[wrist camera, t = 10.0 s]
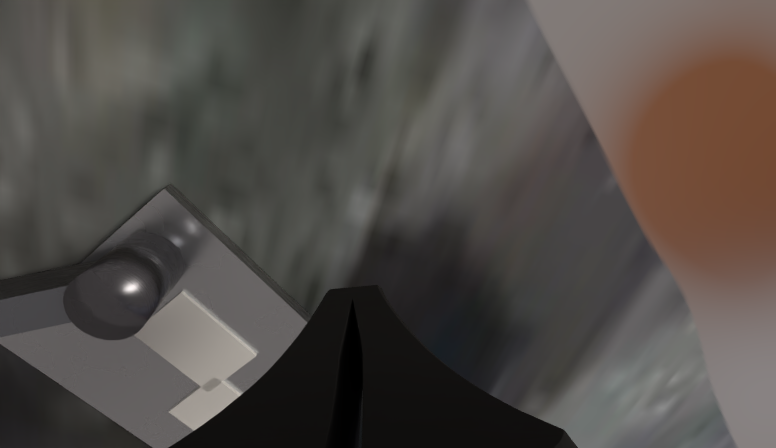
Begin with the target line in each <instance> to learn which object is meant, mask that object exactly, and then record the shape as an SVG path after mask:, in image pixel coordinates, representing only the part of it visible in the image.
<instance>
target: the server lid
mask: <svg viewBox="0 0 776 448" xmlns="http://www.w3.org/2000/svg"><path fill="white" fill-rule="evenodd" d="M141 232H149V233H155V234H159V235H161V236H163V237H165V238H167V239H169V240H170V241H171V242H173V243H174V244H175V245H176V246H177V248H178V249H179V250H180V252H181V254H182V256H183V259H184V272H183V275H182V277H181V279H180V280H179V281H178V283H177V284H176V285H175V287H174V288H173V289H172V290H171V292H170V293H169V294H168V295H167V297H166V298H165V299H164V301H163V302H162V303H161V304H160V306H159V307H158V308H157V310H156V311H155V312H154V313H153V315H154V314H155V313H156V312H157V311H159V310H160V309H161V308H162V307H164V306H165V305H166V304H167V303H168V302H170V301H171V300H172V299H173V298H174V297H176V296H177V295H178V294H179V293H180V292H182V291H184V292H185V293H186V294H187V295H188V296H190V297H191V298H192V299H193V300H194V301H196V302H197V303H198V304H199V305H200V306H201V307H203V308H204V309H205V310H206V311H207V312H208V313H210V314H211V315H212V316H213V317H214V318H215V319H217V320H218V321H219V322H220V323H221V324H223V325H224V326H225V327H226V328H227V329H228V330H230V331H231V332H232V333H233V334H234V335H235V336H237V337H238V338H239V339H240V340H241V341H242V342H244V343H245V344H246V345H247V346H248V347H250V348H251V349H252V350H253V351H254V352H255V353H257V355H256V357H254V358H253V359H252V360H250V361H249V362H248V363H246V364H245V365H244V366H242V367H241V368H240V369H238V370H237V371H236V372H235V373H233V374H232V375H231V376H229V377H228V378H227V379H225V380H224V381H225V382H226V383H228V384H229V385H230V386H231V387H233V388H234V389H235V390H236V391H238V392H239V393H240V394H243V393H244V392H245V391H246V390H248V389H249V388H250V387H251V386H252V385H253V384H254V383H256V382H257V381H258V380H259V379H260V378H261V377H262V376H263V375H264V374H265V373H266V372H267V371H268V370H269V369H270V368H271V367H272V366H273V365H274V364H275V363H276V361H277V360H278V359H279V358H280V357H281V356H282V355H283V353H284V352H285V351H286V350H287V349H288V347H289V346H290V345H291V344H292V343H293V341H294V340H295V339H296V338H297V336H298V335H299V334H300V332H301V331H302V330H303V328H304V327H305V325H306V324H307V323H308V321H309V320H310V319H311V317H312V316H310V315H309V314H308V313H307V312H306V311H305V310H304V309H303V308H302V307H301V306H300V305H299V304H298V303H297V302H296V301H295V300H294V299H292V298H291V297H290V296H289V295H288V294H287V293H286V292H285V291H284V290H283V289H282V288H281V287H280V286H279V285H278V284H277V283H276V282H274V281H273V280H272V279H271V278H270V277H269V276H268V275H267V274H266V273H265V272H264V271H263V270H262V269H261V268H260V267H259V266H258V265H256V264H255V263H254V262H253V261H252V260H251V259H250V258H249V257H248V256H247V255H246V254H245V253H244V252H243V251H242V250H241V249H240V248H238V247H237V246H236V245H235V244H234V243H233V242H232V241H231V240H230V239H229V238H228V237H227V236H226V235H225V234H224V233H223V232H222V231H221V230H219V229H218V228H217V227H216V226H215V225H214V224H213V223H212V222H211V221H210V220H209V219H208V218H207V217H206V216H205V215H204V214H203V213H201V212H200V211H199V210H198V209H197V208H196V207H195V206H194V205H193V204H192V203H191V202H190V201H189V200H188V199H187V198H186V197H185V196H183V195H182V194H181V193H180V192H179V191H178V190H177V189H176V188H175V187H174V186H173V185H172V184H170V185H168V186H167V187H166V188H164V189H163V190H162V191H161V192H160V193H158V194H157V195H156V196H155V197H154V198H153V199H152V200H151V201H149V202H148V203H147V204H146V205H145V206H144V207H143V208H142V209H141V210H139V211H138V212H137V213H136V214H135V215H134V216H133V217H132V218H130V219H129V220H128V221H127V222H126V223H125V224H124V225H123V226H121V227H120V228H119V229H118V230H117V231H116V232H115V233H114V234H113V235H111V236H110V237H109V238H108V239H107V240H106V241H105V242H104V243H102V244H101V245H100V246H99V247H98V248H97V249H96V250H95V251H93V252H92V253H91V254H90V255H89V256H88V257H87V258H86V259H85V260H83V261H82V262H81V263H86V262H91V261H95V260H99V259H100V258H101V257H103V256H104V255H105V254H106V253H108V252H109V251H110V250H112V249H113V248H114V247H115V246H117V245H118V244H119V243H120V242H122V241H123V240H124V239H125V238H127V237H128V236H130V235H133V234H136V233H141ZM81 263H80V264H81ZM153 315H152V316H153ZM0 344H1V345H3V346H4V347H6V348H7V349H8V350H10V351H11V352H13V353H14V354H16V355H17V356H19V357H20V358H22V359H23V360H25V361H26V362H28V363H29V364H31V365H32V366H34V367H35V368H36V369H38V370H39V371H41V372H42V373H44V374H45V375H47V376H48V377H50V378H51V379H53V380H54V381H56V382H57V383H59V384H60V385H61V386H63V387H64V388H66V389H67V390H69V391H70V392H72V393H73V394H75V395H76V396H78V397H79V398H81V399H82V400H84V401H85V402H86V403H88V404H89V405H91V406H92V407H94V408H95V409H97V410H98V411H100V412H101V413H103V414H104V415H106V416H107V417H109V418H110V419H112V420H113V421H114V422H116V423H117V424H119V425H120V426H122V427H123V428H125V429H126V430H128V431H129V432H131V433H132V434H134V435H135V436H137V437H138V438H139V439H141V440H142V441H144V442H145V443H147V444H148V445H150V446H151V447H153V448H168V447H170V446H172V445H173V444H175V443H176V442H178V441H179V440H181V439H182V438H184V437H185V436H187V435H188V434H190V433H191V432H193V431H194V430H192V429H191V428H190V427H188V426H187V425H186V424H184V423H183V422H181V421H180V420H179V419H177V418H176V417H175V416H173V415H172V414H170V413H169V410H170V409H171V408H172V407H173V406H175V405H176V404H177V403H179V402H180V401H181V400H183V399H184V398H185V397H186V396H188V395H189V394H190V393H192V392H193V391H194V390H196V389H197V388H198V387H199V385H198V384H197V383H195V382H194V381H193V380H191V379H190V378H189V377H188V376H186V375H185V374H184V373H182V372H181V371H180V370H179V369H177V368H176V367H175V366H173V365H172V364H171V363H169V362H168V361H167V360H166V359H164V358H163V357H162V356H160V355H159V354H158V353H157V352H155V351H154V350H153V349H151V348H150V347H149V346H147V345H146V344H145V343H144V342H142V341H141V340H140V339H138V338H137V337H136V336H134V335H133V336H131V337H129V338H126V339H122V340H103V339H99V338H95V337H93V336H90V335H88V334H86V333H84V332H83V331H81V330H80V329H79V328H77V327H76V326H75V325H74V324H73V323H72V322H71V323H66V324H61V325H57V326H52V327H47V328H42V329H38V330H33V331H28V332H24V333H19V334H14V335H9V336H5V337H0Z"/></svg>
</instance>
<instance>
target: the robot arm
mask: <svg viewBox="0 0 776 448" xmlns="http://www.w3.org/2000/svg"><path fill="white" fill-rule="evenodd" d="M362 390H363V427H362V448H578V447H577V446H576V445H575V443H574V442H573V441H572V440H571V438H570V437H569V436H568V434H567V433H566V432H565V431H564V430H563V429H561V428H558V427H556V426H554V425H552V424H549V423H547V422H545V421H542V420H540V419H538V418H536V417H533V416H531V415H529V414H526V413H524V412H522V411H520V410H518V409H516V408H514V407H512V406H510V405H508V404H506V403H504V402H502V401H500V400H499V399H497V398H495V397H493V396H491V395H489V394H488V393H486V392H484V391H483V390H481V389H479V388H478V387H476V386H475V385H473V384H472V383H470V382H469V381H467V380H466V379H464V378H463V377H461V376H460V375H458V374H457V373H456V372H454V371H453V370H452V369H450V368H449V367H448V366H447V365H445V364H444V363H443V362H442V361H441V360H439V359H438V358H437V357H436V356H435V355H434V354H433V353H432V352H431V351H429V350H428V349H427V348H426V347H425V346H424V345H423V344H422V343H421V342H420V341H419V339H418V338H417V337H416V336H415V335H414V334H413V333H412V332H411V331H410V330H409V328H408V327H407V326H406V325H405V324H404V322H403V321H402V320H401V319H400V317H399V316H398V315H397V313H396V312H395V311H394V309H393V308H392V306H391V305H390V303H389V302H388V300H387V299H386V297H385V295H384V293H383V291H382V288H380V287H379V286H378V285H372V286H361V287H351V288H340V289H330V290H329V291H328V292H327V293H326V295H325V296H324V298H323V300H322V301H321V303H320V305H319V306H318V308H317V309H316V311H315V313H314V314H313V316H312V317H311V319H310V320H309V321H308V323H307V324H306V325H305V327H304V328H303V330H302V331H301V332H300V334H299V335H298V336H297V338H296V339H295V340H294V341H293V343H292V344H291V345H290V346H289V347H288V349H287V350H286V351H285V352H284V353H283V355H282V356H281V357H280V358H279V359H278V360H277V361H276V363H275V364H274V365H273V366H272V367H271V368H270V369H269V370H268V371H267V372H266V373H265V374H264V375H263V376H262V377H261V378H260V379H259V380H258V381H257V382H256V383H254V384H253V385H252V386H251V387H250V388H249V389H248V390H246V391H245V392H244V393H243V394H241V395H240V396H239V397H238V398H237V399H235V400H234V401H233V402H232V403H231V404H229V405H228V406H227V407H226V408H224V409H223V410H222V411H221V412H219V413H218V414H217V415H215V416H214V417H213V418H211V419H210V420H208V421H207V422H206V423H204V424H203V425H202V426H200V427H199V428H197V429H196V430H194V431H193V432H191V433H190V434H188V435H187V436H185V437H184V438H182V439H181V440H179V441H178V442H176V443H175V444H173V445H172V446H170V447H168V448H358V447H359V431H360V416H361V400H362Z"/></svg>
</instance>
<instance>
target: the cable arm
mask: <svg viewBox="0 0 776 448" xmlns="http://www.w3.org/2000/svg"><path fill="white" fill-rule="evenodd" d="M183 272H184V259H183V256H182V254H181V252H180V250H179V249H178V248H177V246H176V245H175V244H174V243H173V242H171V241H170V240H169V239H167V238H165V237H163V236H161V235H159V234H155V233H149V232H141V233H136V234H133V235H130V236H128V237H127V238H125V239H124V240H123V241H122V242H120V243H119V244H118V245H117V246H115V247H114V248H113V249H112V250H110V251H109V252H108V253H106V254H105V255H104V256H103V257H101V258H100V259H99V260H95V261H91V262H86V263H81V264H76V265H72V266H67V267H62V268H57V269H52V270H48V271H43V272H38V273H33V274H29V275H24V276H19V277H14V278H10V279H5V280H0V337H5V336H9V335H14V334H19V333H24V332H28V331H33V330H38V329H42V328H47V327H52V326H57V325H61V324H66V323H71V322H72V323H73V324H74V325H75V326H76V327H77V328H79V329H80V330H81V331H83V332H84V333H86V334H88V335H90V336H93V337H95V338H99V339H103V340H122V339H126V338H129V337H131V336H133V335H135V334H136V333H137V332H139V331H140V330H141V329H142V328H143V326H144V325H145V324H146V322H147V321H148V320H149V319H150V317H151V316H152V315H153V313H154V312H155V311H156V310H157V308H158V307H159V306H160V304H161V303H162V302H163V301H164V299H165V298H166V297H167V295H168V294H169V293H170V292H171V290H172V289H173V288H174V287H175V285H176V284H177V283H178V281H179V280H180V279H181V277H182V275H183Z"/></svg>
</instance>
